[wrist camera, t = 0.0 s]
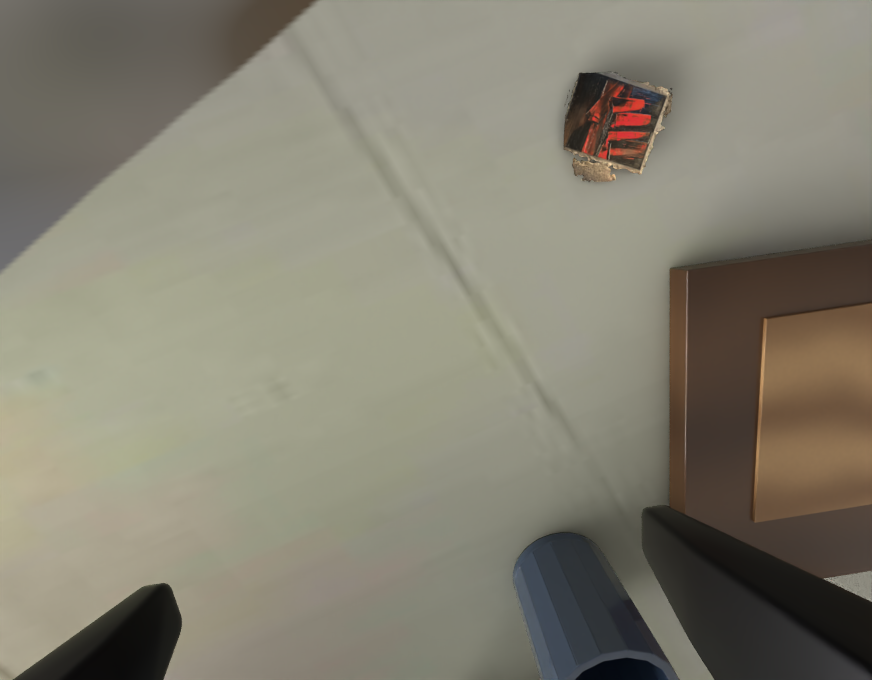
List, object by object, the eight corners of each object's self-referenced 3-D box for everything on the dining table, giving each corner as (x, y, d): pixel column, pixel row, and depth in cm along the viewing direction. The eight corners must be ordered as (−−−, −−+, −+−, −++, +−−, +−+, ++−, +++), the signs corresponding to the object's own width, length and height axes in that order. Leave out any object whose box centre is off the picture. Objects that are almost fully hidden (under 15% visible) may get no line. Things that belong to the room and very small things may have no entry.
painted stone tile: (566, 73, 19) (570, 69, 19) (673, 76, 19) (679, 72, 19) (558, 180, 20) (562, 179, 20) (659, 182, 21) (665, 181, 20)
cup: (607, 604, 27) (680, 740, 19) (516, 618, 27) (556, 761, 19) (603, 525, 25) (681, 641, 18) (508, 540, 25) (547, 662, 18)
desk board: (909, 543, 27) (942, 562, 25) (668, 581, 27) (686, 604, 25) (961, 226, 22) (1006, 225, 20) (669, 268, 22) (690, 270, 20)
